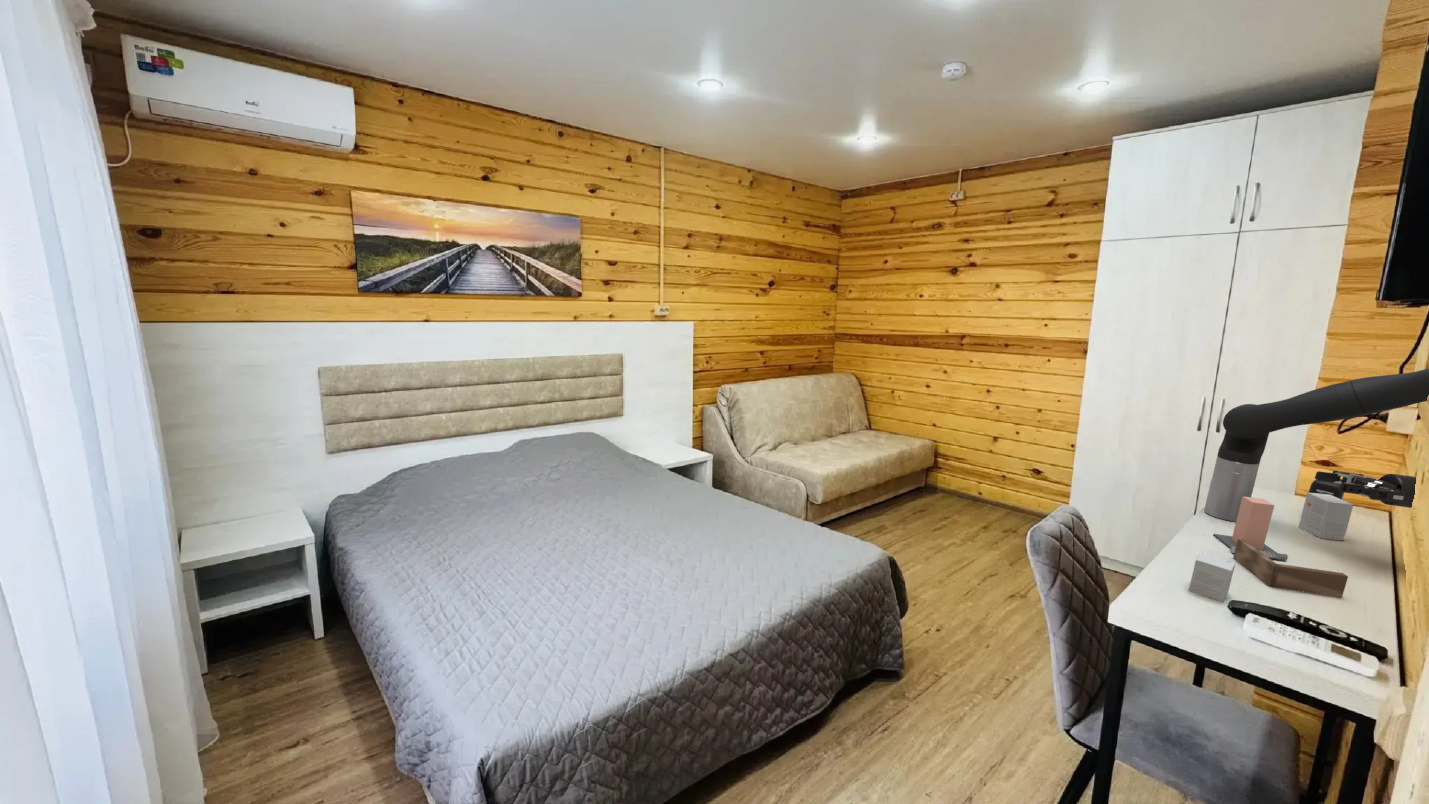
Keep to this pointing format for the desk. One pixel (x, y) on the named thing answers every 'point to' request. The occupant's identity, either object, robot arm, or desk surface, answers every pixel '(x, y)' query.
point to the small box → (1325, 516)
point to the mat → (1230, 543)
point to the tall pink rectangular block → (1253, 521)
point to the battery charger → (1326, 488)
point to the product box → (1212, 576)
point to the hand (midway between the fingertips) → (1328, 481)
